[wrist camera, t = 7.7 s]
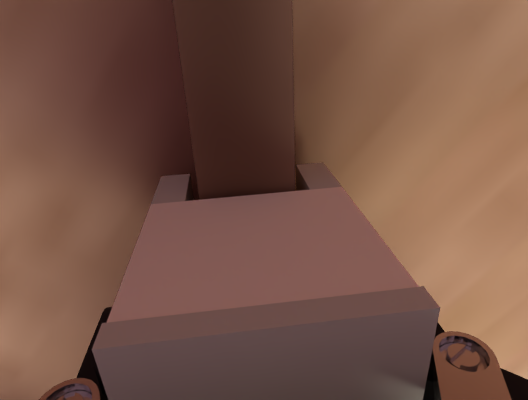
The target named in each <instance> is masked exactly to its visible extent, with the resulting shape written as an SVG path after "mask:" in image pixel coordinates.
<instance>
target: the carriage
mask: <svg viewBox="0 0 528 400" xmlns="http://www.w3.org/2000/svg"><path fill="white" fill-rule="evenodd" d="M439 311H440V307H439V306H438V304H437V303H436V302H435V301H434V299H433V298H432V297H431V295H430V294H429V293H428V292H427V290H426V289H425V288H424V287H423V286H421V287H419V286H418V285H417V284H416V282H415V281H414V280H413V278H412V277H411V276H410V275H409V273H408V272H407V271H406V269H405V268H404V267H403V265H402V264H401V263H400V262H399V260H398V259H397V258H396V256H395V255H394V254H393V252H392V251H391V250H390V249H389V247H388V246H387V245H386V243H385V242H384V241H383V239H382V238H381V237H380V236H379V234H378V233H377V232H376V230H375V229H374V228H373V226H372V225H371V224H370V223H369V221H368V220H367V219H366V217H365V216H364V215H363V213H362V212H361V211H360V210H359V208H358V207H357V206H356V204H355V203H354V202H353V200H352V199H351V198H350V197H349V195H348V194H347V193H346V191H345V190H344V189H343V187H342V186H341V185H340V184H339V182H338V181H337V180H336V178H335V177H334V176H333V174H332V173H331V172H330V171H329V169H328V168H327V167H326V165H325V164H324V163H323V162H321V163H309V164H298V165H296V191H290V192H279V193H268V194H257V195H246V196H235V197H224V198H213V199H202V200H194V199H193V192H192V185H191V178H190V174H182V175H170V176H161V178H160V181H159V184H158V186H157V189H156V192H155V194H154V197H153V200H152V202H151V205H150V208H149V210H148V213H147V216H146V218H145V221H144V224H143V226H142V229H141V232H140V234H139V237H138V240H137V242H136V245H135V248H134V250H133V253H132V256H131V258H130V261H129V264H128V266H127V269H126V272H125V274H124V277H123V280H122V282H121V285H120V288H119V290H118V293H117V296H116V298H115V301H114V304H113V306H112V309H111V312H110V314H109V317H108V320H107V323H102V324H101V327H100V330H99V332H98V335H97V337H96V340H95V342H94V345H93V348H92V352H93V355H94V358H95V361H96V364H97V367H98V370H99V373H100V376H101V379H102V382H103V385H104V388H105V391H106V394H107V397H108V400H423V396H424V391H425V386H426V380H427V375H428V370H429V364H430V359H431V354H432V348H433V343H434V338H435V332H436V327H437V322H438V317H439Z"/></svg>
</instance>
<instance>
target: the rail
mask: <svg viewBox="0 0 528 400" xmlns="http://www.w3.org/2000/svg"><path fill="white" fill-rule="evenodd" d="M172 3H173V10H174V17H175V25H176V32H177V39H178V47H179V54H180V61H181V69H182V76H183V83H184V91H185V98H186V105H187V113H188V120H189V128H190V135H191V142H192V150H193V157H194V164H195V172H196V179H197V186H198V194H199V200H202V199H213V198H224V197H235V196H246V195H257V194H268V193H279V192H290V191H295V136H294V76H293V15H292V0H172Z"/></svg>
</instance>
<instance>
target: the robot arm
mask: <svg viewBox="0 0 528 400" xmlns="http://www.w3.org/2000/svg"><path fill="white" fill-rule="evenodd" d="M111 309H112V307H108V308H106V309H104V311H103V313H102V315H101V318H100V320H99V323H98V325H97V328H96V330H95V333H94V335H93V338H92V340H91V343H90V345H89V348H88V350H87V353H86V355H85V358H84V360H83V363H82V365H81V368H80V370H79V373H78V375H77V378H74V379H70V380H67V381H64V382H62V383H60V384H58V385H56V386H54V387H53V388H51V389H50V390H49V391H47V392H46V393H45V394H44V395H43V396H42V397H41V398H40V399H39V400H108V397H107V394H106V391H105V388H104V385H103V382H102V379H101V376H100V373H99V370H98V367H97V364H96V361H95V358H94V355H93V352H92V348H93V345H94V342H95V340H96V337H97V335H98V332H99V330H100V327H101V324H102V323H107V320H108V317H109V314H110V312H111ZM423 400H528V380H527V379H525V378H523V377H520V376H518V375H516V374H513V373H511V372H508V371H506V370H504V369H501V368H500V366H499V363H498V361H497V358H496V356H495V354H494V352H493V351H492V350H491V349H490V348H489V347H488V345H487V344H485V343H484V342H482V341H481V340H479V339H478V338H476V337H474V336H471V335H469V334H466V333H462V332H454V331H448V332H444V330H443V329H442V327H441V326H440V325H439V323H438V322H437V327H436V332H435V338H434V343H433V348H432V354H431V359H430V364H429V370H428V375H427V380H426V386H425V391H424V396H423Z"/></svg>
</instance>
